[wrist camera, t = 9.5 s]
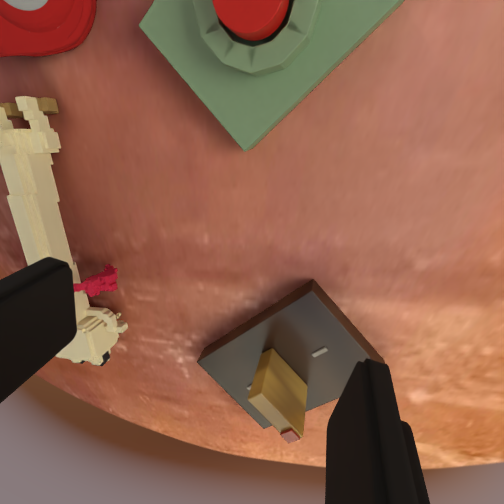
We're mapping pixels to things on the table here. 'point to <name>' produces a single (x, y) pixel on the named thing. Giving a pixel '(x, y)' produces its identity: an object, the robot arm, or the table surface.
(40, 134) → the blocky toy figure
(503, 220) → the table surface
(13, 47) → the tracker holder
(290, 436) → the lock knob
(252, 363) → the lock plate
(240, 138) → the green button base
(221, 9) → the button
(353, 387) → the robot arm
